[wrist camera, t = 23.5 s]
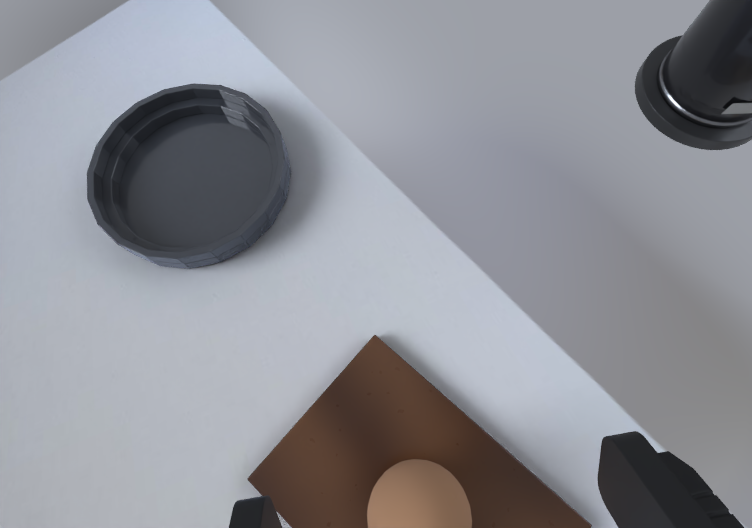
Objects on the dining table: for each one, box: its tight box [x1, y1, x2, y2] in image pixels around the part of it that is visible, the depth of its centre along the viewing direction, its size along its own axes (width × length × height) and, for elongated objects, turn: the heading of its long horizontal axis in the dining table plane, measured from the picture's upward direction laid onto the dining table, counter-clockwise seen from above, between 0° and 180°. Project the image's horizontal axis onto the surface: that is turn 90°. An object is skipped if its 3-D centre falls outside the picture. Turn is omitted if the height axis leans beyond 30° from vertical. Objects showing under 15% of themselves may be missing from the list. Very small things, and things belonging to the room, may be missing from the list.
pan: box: [87, 84, 291, 269], centre depth 40 cm, size 17×17×3 cm
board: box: [248, 335, 592, 528], centre depth 32 cm, size 14×20×1 cm
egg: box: [367, 459, 472, 528], centre depth 28 cm, size 6×6×8 cm
